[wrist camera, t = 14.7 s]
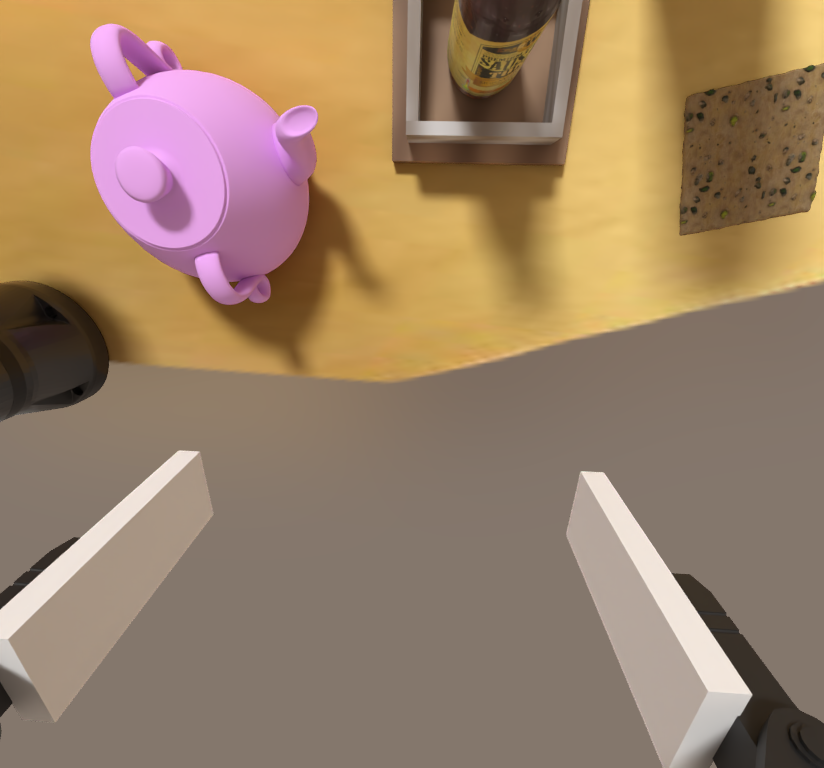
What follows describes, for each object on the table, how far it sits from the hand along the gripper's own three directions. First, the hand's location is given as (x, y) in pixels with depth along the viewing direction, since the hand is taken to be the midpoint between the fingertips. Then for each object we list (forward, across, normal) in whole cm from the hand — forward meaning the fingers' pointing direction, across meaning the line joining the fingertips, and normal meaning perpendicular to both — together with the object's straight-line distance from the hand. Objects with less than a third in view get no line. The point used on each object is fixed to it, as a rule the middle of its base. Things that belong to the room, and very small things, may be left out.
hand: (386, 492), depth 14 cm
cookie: (+32, +30, +15) cm, 47 cm away
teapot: (+32, -17, +12) cm, 38 cm away
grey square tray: (+32, +5, +22) cm, 39 cm away
